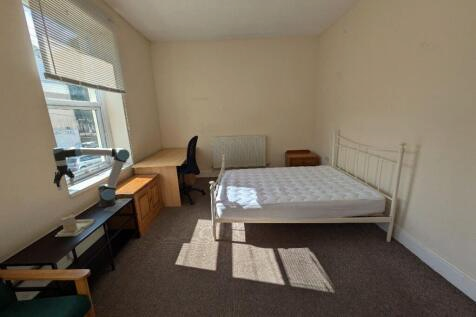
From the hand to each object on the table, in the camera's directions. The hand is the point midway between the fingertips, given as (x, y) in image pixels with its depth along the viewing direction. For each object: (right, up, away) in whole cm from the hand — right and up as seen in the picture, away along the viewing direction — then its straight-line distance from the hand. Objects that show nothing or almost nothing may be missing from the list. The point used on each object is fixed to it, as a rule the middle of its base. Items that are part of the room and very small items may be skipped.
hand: (66, 187), depth 182 cm
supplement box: (+19, -34, -17) cm, 43 cm away
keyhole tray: (+19, -33, -12) cm, 40 cm away
